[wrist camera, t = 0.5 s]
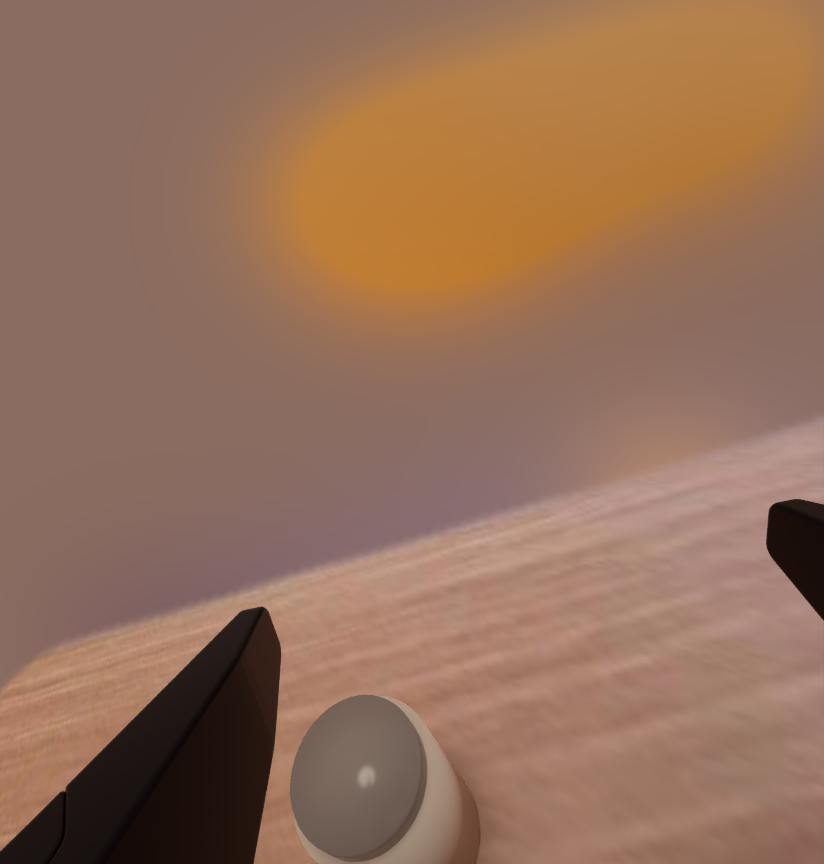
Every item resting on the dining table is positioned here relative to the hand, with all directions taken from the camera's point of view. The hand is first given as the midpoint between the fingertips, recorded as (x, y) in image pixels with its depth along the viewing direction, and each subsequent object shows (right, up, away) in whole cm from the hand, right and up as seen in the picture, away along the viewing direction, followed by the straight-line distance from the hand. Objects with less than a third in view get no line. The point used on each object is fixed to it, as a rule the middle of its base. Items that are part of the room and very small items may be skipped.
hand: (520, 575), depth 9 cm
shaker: (-2, -13, +10) cm, 16 cm away
